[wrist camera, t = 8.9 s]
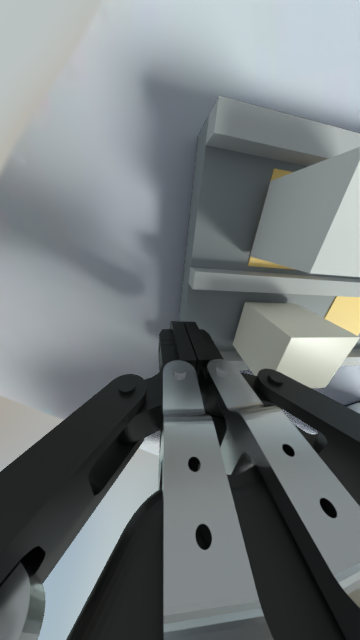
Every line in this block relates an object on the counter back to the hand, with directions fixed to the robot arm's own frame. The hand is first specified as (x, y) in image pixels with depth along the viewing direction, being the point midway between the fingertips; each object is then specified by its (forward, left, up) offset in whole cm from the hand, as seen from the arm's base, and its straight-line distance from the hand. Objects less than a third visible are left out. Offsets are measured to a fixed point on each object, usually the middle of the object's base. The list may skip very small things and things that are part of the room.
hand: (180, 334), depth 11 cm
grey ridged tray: (-7, -8, -4) cm, 12 cm away
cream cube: (-5, -3, -1) cm, 7 cm away
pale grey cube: (-2, -9, -1) cm, 9 cm away
